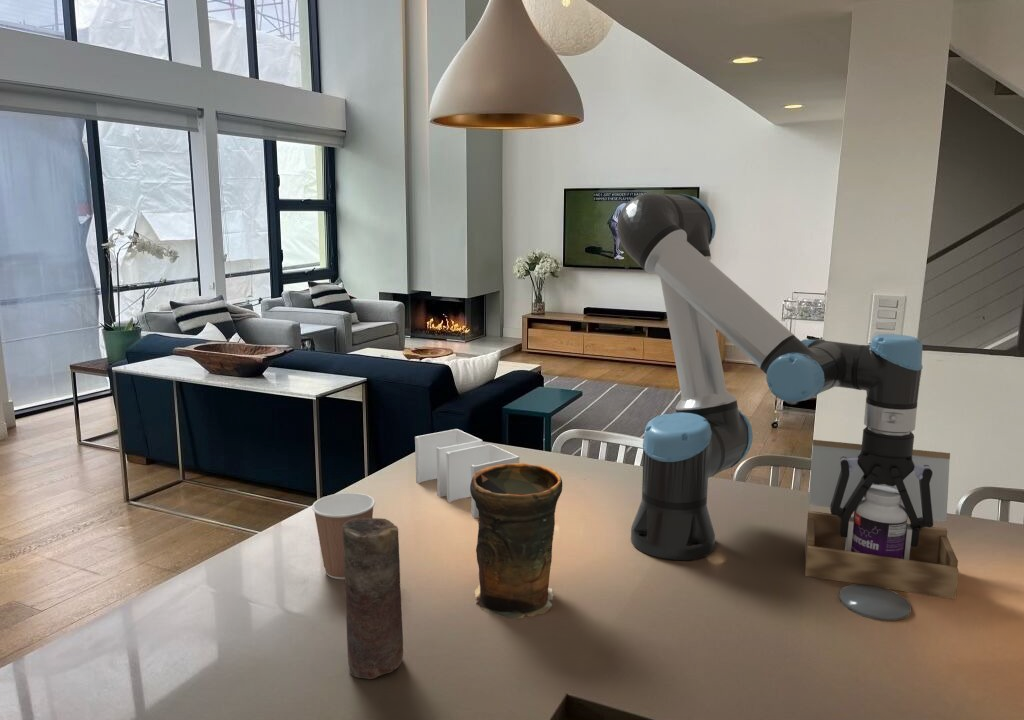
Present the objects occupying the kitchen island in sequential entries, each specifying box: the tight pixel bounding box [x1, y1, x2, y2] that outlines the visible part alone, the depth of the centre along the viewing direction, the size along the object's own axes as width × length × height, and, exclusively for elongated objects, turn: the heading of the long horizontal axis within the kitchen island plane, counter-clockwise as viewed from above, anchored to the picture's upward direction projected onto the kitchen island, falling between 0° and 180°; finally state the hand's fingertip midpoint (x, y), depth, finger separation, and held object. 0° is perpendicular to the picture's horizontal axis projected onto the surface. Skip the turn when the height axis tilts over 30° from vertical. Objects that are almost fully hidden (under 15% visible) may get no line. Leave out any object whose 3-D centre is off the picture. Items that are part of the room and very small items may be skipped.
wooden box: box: [804, 510, 959, 600], centre depth 127 cm, size 22×12×7 cm, turn 69°
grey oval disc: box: [839, 584, 912, 621], centre depth 117 cm, size 10×10×1 cm
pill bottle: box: [851, 485, 909, 559], centre depth 126 cm, size 8×8×14 cm
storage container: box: [414, 428, 520, 519], centre depth 162 cm, size 25×11×11 cm, turn 35°
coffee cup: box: [311, 492, 376, 580], centre depth 126 cm, size 10×10×12 cm
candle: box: [343, 517, 404, 680], centre depth 99 cm, size 8×7×20 cm
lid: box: [808, 439, 951, 523], centre depth 133 cm, size 22×12×1 cm
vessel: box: [470, 462, 563, 620], centre depth 117 cm, size 14×14×20 cm
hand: (875, 558), depth 127 cm, fingers closed on pill bottle, 8 cm apart
